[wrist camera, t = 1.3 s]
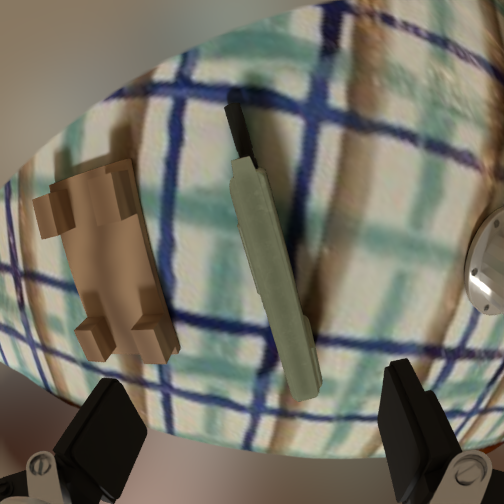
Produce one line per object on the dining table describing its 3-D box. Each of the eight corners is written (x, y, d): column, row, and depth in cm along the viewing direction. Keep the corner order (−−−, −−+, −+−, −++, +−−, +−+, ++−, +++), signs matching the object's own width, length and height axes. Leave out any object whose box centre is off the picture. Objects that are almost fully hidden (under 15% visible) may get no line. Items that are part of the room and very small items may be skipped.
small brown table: (131, 158, 25) (108, 160, 21) (180, 348, 31) (169, 371, 27) (54, 183, 26) (30, 189, 22) (106, 348, 32) (91, 368, 28)
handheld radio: (285, 359, 30) (213, 112, 23) (316, 352, 30) (251, 101, 23) (288, 404, 24) (195, 98, 17) (325, 396, 24) (246, 82, 17)
